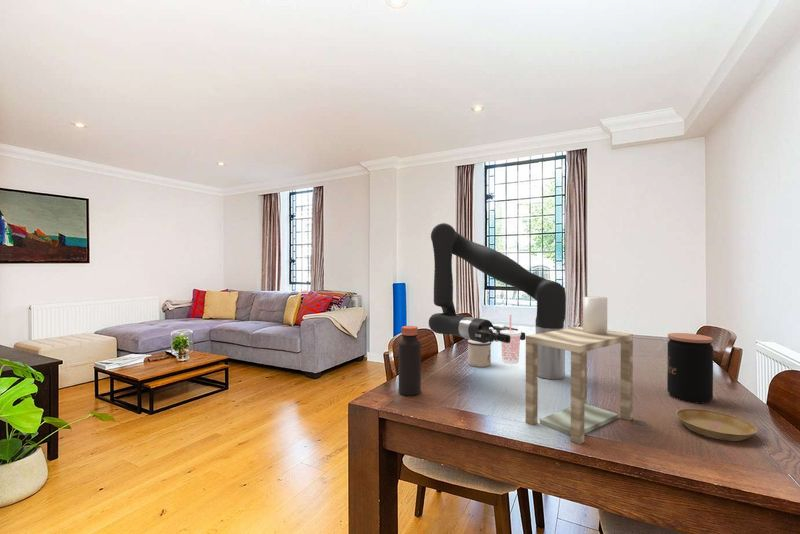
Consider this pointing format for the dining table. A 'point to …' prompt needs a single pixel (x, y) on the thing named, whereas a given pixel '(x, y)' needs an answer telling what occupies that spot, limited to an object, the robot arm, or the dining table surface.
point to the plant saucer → (734, 425)
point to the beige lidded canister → (479, 353)
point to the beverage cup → (511, 346)
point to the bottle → (409, 362)
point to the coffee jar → (690, 367)
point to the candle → (595, 315)
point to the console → (578, 380)
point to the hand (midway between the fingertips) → (517, 337)
